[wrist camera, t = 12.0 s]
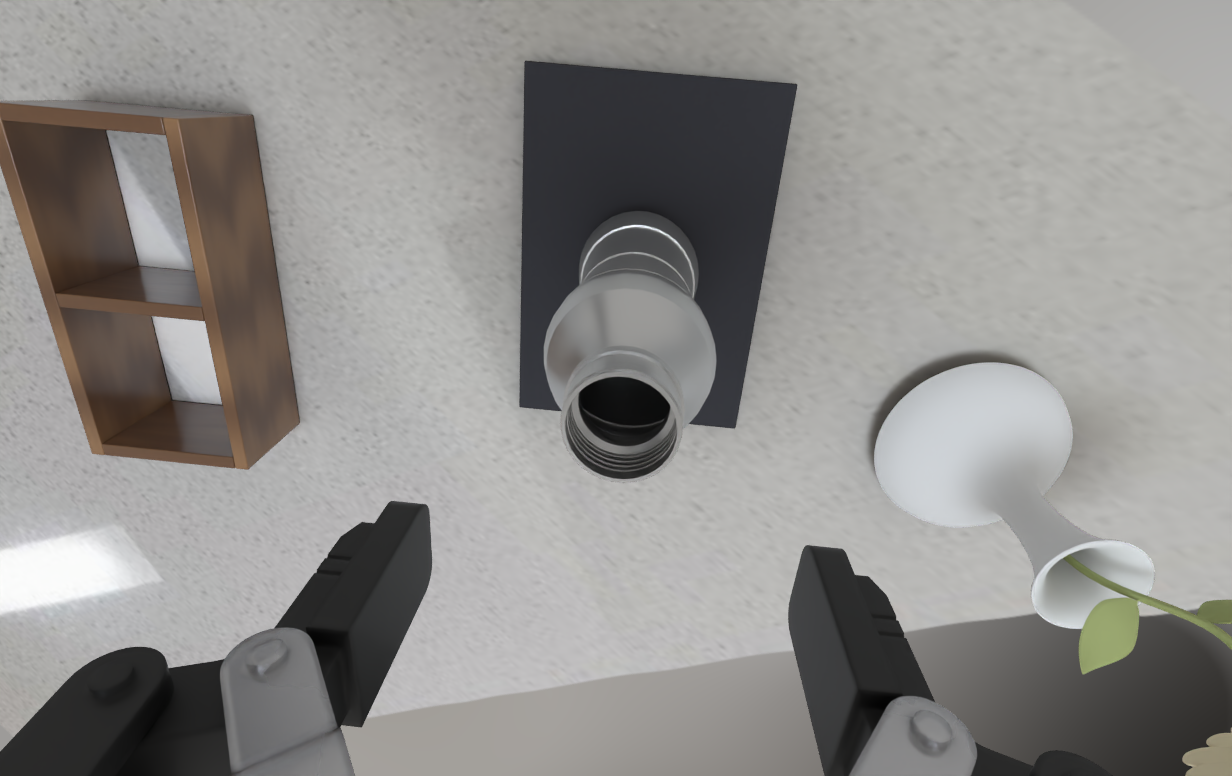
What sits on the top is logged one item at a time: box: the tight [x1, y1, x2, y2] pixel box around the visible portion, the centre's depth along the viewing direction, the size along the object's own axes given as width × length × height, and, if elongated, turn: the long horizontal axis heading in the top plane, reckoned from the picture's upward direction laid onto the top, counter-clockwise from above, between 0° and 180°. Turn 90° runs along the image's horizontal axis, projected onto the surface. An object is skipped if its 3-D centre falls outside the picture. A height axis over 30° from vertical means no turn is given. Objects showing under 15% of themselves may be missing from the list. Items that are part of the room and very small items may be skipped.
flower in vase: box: [874, 363, 1232, 776], centre depth 29 cm, size 13×11×25 cm
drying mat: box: [520, 61, 797, 428], centre depth 37 cm, size 20×14×1 cm
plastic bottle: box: [544, 211, 716, 483], centre depth 27 cm, size 6×7×20 cm
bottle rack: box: [0, 100, 299, 469], centre depth 36 cm, size 19×10×6 cm, turn 176°
